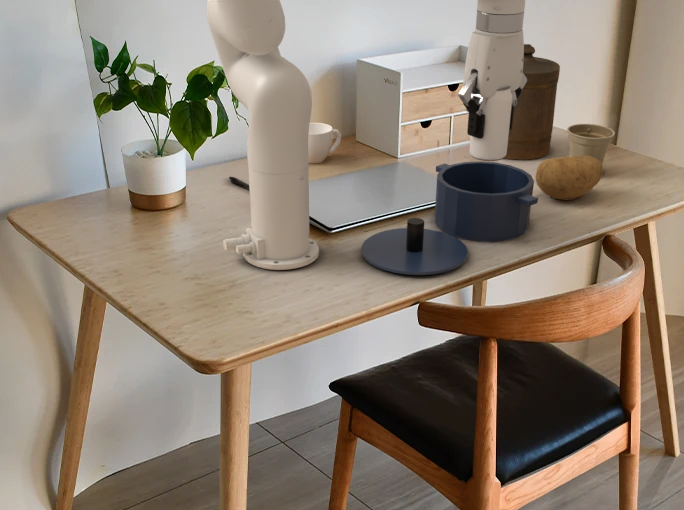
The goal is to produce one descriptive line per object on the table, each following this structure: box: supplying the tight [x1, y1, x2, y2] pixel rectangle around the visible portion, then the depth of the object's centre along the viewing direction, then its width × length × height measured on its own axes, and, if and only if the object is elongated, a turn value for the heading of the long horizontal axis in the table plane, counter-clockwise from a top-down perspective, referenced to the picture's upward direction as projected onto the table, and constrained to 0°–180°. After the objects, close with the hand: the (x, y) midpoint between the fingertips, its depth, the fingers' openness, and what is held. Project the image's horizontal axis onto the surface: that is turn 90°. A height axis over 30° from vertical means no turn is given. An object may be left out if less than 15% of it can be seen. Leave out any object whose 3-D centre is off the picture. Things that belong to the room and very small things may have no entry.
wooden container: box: [503, 43, 561, 161], centre depth 195 cm, size 15×15×22 cm
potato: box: [535, 155, 604, 201], centre depth 175 cm, size 10×14×8 cm
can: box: [468, 86, 512, 162], centre depth 156 cm, size 6×6×12 cm
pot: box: [434, 160, 539, 243], centre depth 164 cm, size 17×22×8 cm
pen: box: [228, 176, 250, 191], centre depth 178 cm, size 14×2×1 cm, turn 40°
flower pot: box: [566, 123, 616, 165], centre depth 187 cm, size 9×9×9 cm
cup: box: [308, 122, 342, 164], centre depth 192 cm, size 8×10×7 cm
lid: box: [361, 217, 468, 276], centre depth 152 cm, size 18×18×6 cm
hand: (489, 131), depth 157 cm, fingers closed on can, 6 cm apart
